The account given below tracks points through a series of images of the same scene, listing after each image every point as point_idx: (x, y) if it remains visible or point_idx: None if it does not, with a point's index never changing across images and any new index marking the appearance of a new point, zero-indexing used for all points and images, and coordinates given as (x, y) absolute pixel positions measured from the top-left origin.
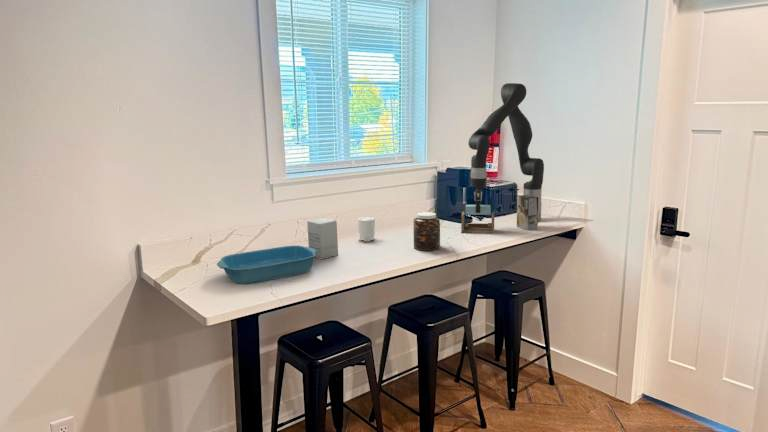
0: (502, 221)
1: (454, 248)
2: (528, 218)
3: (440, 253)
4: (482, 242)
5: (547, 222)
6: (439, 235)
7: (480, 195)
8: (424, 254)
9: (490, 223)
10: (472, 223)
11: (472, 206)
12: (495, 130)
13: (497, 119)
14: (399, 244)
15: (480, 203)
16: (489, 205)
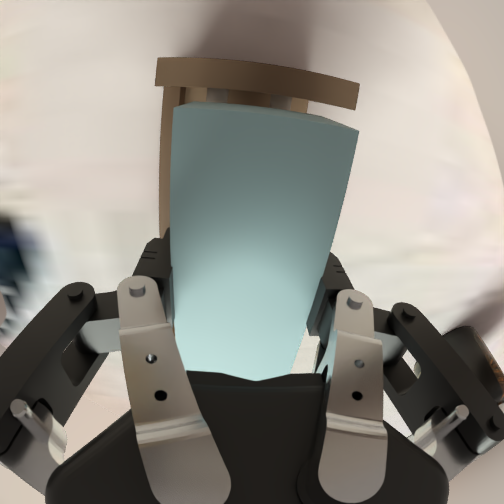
0: None
1: (485, 291)
2: None
3: (497, 317)
4: (468, 194)
5: None
6: (488, 353)
7: (494, 403)
8: (485, 343)
9: (224, 97)
10: (162, 227)
11: (298, 348)
12: None
13: None
14: (388, 402)
15: (421, 314)
16: (240, 132)
